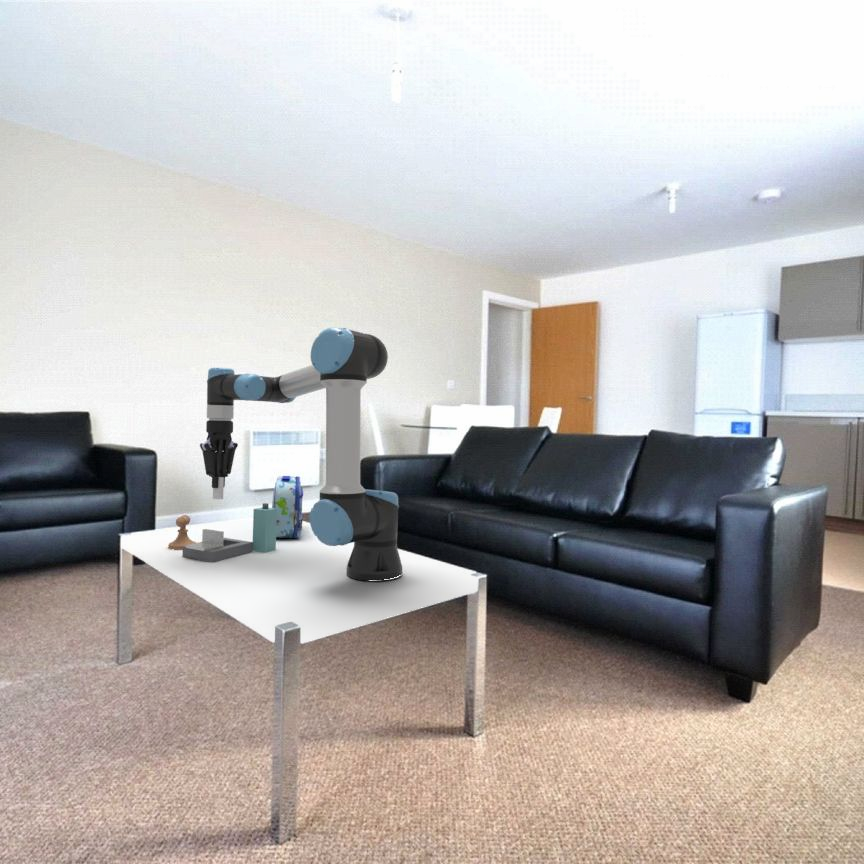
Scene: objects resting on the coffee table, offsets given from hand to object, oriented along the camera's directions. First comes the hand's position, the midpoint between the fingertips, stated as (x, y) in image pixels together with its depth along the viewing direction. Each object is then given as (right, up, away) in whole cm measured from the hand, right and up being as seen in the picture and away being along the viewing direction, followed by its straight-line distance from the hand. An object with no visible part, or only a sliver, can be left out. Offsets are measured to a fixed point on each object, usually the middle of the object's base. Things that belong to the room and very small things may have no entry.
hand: (217, 498), depth 174 cm
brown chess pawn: (-15, -16, +9) cm, 24 cm away
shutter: (-3, -14, -4) cm, 14 cm away
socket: (0, -17, +1) cm, 17 cm away
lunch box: (+11, -17, +36) cm, 41 cm away
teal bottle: (+11, -17, +9) cm, 22 cm away
